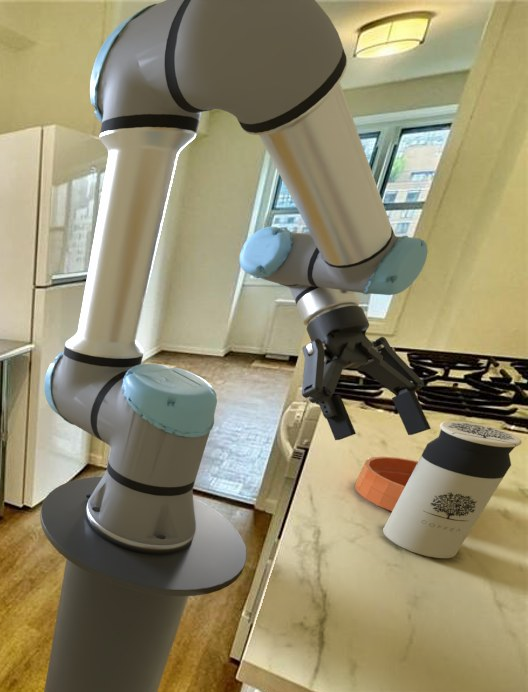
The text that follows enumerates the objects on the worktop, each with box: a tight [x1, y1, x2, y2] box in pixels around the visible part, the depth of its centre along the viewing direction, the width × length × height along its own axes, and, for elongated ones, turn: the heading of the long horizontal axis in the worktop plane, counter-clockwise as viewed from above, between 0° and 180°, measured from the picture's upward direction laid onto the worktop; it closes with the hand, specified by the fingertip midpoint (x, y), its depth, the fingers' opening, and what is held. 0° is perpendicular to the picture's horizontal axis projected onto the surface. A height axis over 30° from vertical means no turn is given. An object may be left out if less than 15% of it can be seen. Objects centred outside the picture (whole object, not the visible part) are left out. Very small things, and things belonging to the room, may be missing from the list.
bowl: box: [354, 456, 419, 512], centre depth 80 cm, size 14×14×5 cm
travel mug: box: [382, 420, 523, 559], centre depth 67 cm, size 8×8×18 cm
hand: (383, 434), depth 74 cm, fingers open, 13 cm apart
